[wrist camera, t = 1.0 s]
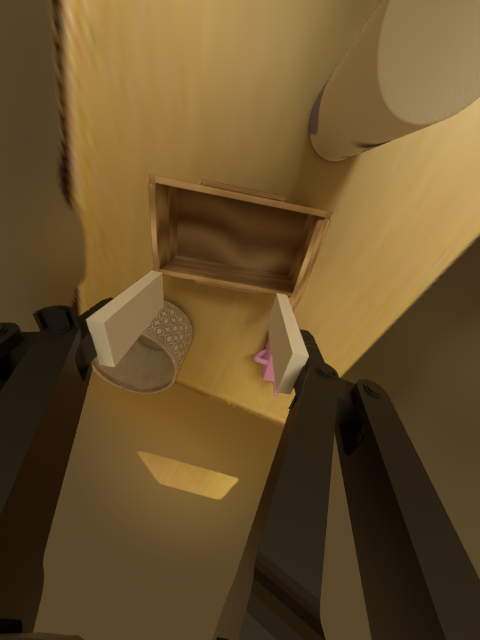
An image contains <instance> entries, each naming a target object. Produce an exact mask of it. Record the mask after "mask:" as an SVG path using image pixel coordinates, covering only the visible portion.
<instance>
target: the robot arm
mask: <svg viewBox="0 0 480 640" xmlns="http://www.w3.org/2000/svg"><path fill="white" fill-rule="evenodd" d="M163 306H164V298H163V274H162V272H157V271H150V272H149V273H148V274H146V275H145V276H144V277H142V278H141V279H140V280H138V281H137V282H136V283H134V284H133V285H132V286H130V287H129V288H128V289H126V290H125V291H124V292H122V293H121V294H120V295H118V296H117V297H116V298H108V299H105V300H102V301H100V302H99V303H98V304H96V305H95V306H93V307H92V308H90V309H89V310H87V311H86V312H85V313H83V314H82V315H80V316H79V317H76V314H75V310H74V309H73V308H72V307H69V306H62V305H58V306H50V307H46V308H43V309H40V310H38V311H36V312H35V313H34V314H33V315H34V318H35V320H36V322H37V324H38V326H39V329H40V332H22V331H21V330H20V328H19V326H18V325H17V324H15V323H9V322H8V323H0V640H84V639H82V638H81V637H80V636H76V635H64V634H52V633H41V632H37V633H33V630H34V626H35V621H36V617H37V613H38V609H39V605H40V601H41V596H42V591H43V583H44V569H43V557H44V552H45V548H46V544H47V540H48V536H49V533H50V529H51V524H52V521H53V517H54V514H55V510H56V506H57V502H58V498H59V495H60V491H61V487H62V483H63V479H64V476H65V472H66V468H67V464H68V461H69V456H70V453H71V449H72V445H73V442H74V438H75V434H76V430H77V426H78V422H79V418H80V415H81V411H82V407H83V403H84V400H85V396H86V392H87V388H88V385H89V380H90V377H91V373H92V370H93V367H92V363H91V362H92V361H93V360H94V359H95V358H96V357H97V358H98V362H99V365H104V366H110V367H115V366H116V365H117V364H118V362H119V361H120V360H121V359H122V357H123V356H124V355H125V354H126V352H127V351H128V350H129V349H130V347H131V346H132V345H133V344H134V342H135V341H136V340H137V339H138V337H139V336H140V335H141V334H142V332H143V331H144V330H145V329H146V327H147V326H148V325H149V324H150V322H151V321H152V320H153V319H154V317H155V316H156V315H157V314H158V312H159V311H160V310H161V309H162V307H163ZM268 331H269V339H270V346H271V354H272V362H273V369H274V377H275V385H276V392H279V393H286V394H291V392H292V390H293V388H294V389H295V393H296V395H295V397H294V399H293V401H292V403H291V405H290V407H289V409H290V411H289V414H288V417H287V420H286V423H285V426H284V429H283V432H282V435H281V438H280V441H279V444H278V448H277V450H276V454H275V457H274V460H273V463H272V466H271V469H270V472H269V475H268V478H267V481H266V484H265V487H264V490H263V493H262V496H261V499H260V503H259V506H258V509H257V512H256V515H255V518H254V521H253V524H252V527H251V530H250V533H249V536H248V539H247V542H246V545H245V549H244V552H243V555H242V558H241V561H240V564H239V567H238V570H237V573H236V576H235V578H234V581H233V584H232V586H231V588H230V591H229V593H228V596H227V598H226V601H225V603H224V606H223V609H222V612H221V615H220V618H219V621H218V624H217V627H216V630H215V633H214V636H213V639H212V640H325V636H324V632H323V629H322V625H321V621H320V596H321V584H322V572H323V560H324V549H325V537H326V525H327V514H328V502H329V489H330V478H331V466H332V454H333V442H334V431H335V436H336V442H337V447H338V453H339V459H340V464H341V469H342V476H343V481H344V487H345V492H346V498H347V504H348V509H349V515H350V520H351V526H352V531H353V536H354V543H355V548H356V554H357V560H358V565H359V571H360V576H361V582H362V587H363V593H364V599H365V604H366V610H367V615H368V621H369V627H370V632H371V638H372V640H480V579H479V577H478V575H477V573H476V571H475V569H474V567H473V565H472V563H471V561H470V559H469V557H468V555H467V553H466V551H465V549H464V547H463V545H462V543H461V541H460V539H459V537H458V535H457V533H456V531H455V529H454V527H453V525H452V523H451V521H450V519H449V517H448V515H447V513H446V510H445V508H444V506H443V505H442V503H441V500H440V498H439V497H438V494H437V492H436V490H435V488H434V486H433V484H432V482H431V480H430V478H429V476H428V474H427V472H426V470H425V468H424V466H423V464H422V462H421V460H420V458H419V456H418V454H417V452H416V450H415V448H414V446H413V444H412V442H411V440H410V438H409V436H408V434H407V432H406V430H405V428H404V426H403V424H402V422H401V420H400V418H399V416H398V414H397V412H396V410H395V408H394V406H393V404H392V402H391V400H390V398H389V396H388V394H387V393H386V391H385V390H384V389H383V388H382V387H381V386H379V385H378V384H376V383H375V382H372V381H370V380H367V379H360V380H358V382H357V383H356V384H353V383H351V382H348V381H346V380H343V379H341V378H339V376H338V373H337V372H336V370H335V369H334V368H332V367H331V366H330V365H328V364H326V363H325V362H324V360H323V357H322V355H321V353H320V351H319V348H318V346H317V344H316V343H315V339H314V337H313V336H312V335H311V334H310V333H309V332H308V331H306V330H300V329H299V327H298V325H297V322H296V319H295V316H294V314H293V311H292V308H291V305H290V303H289V300H288V297H287V295H285V294H279V293H277V294H276V297H275V300H274V304H273V307H272V310H271V314H270V317H269V320H268Z"/></svg>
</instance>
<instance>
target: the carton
mask: <svg viewBox="0 0 480 640" xmlns="http://www.w3.org/2000/svg"><path fill="white" fill-rule="evenodd" d="M149 182H150V184H152V185H153V186H154V196H155V215H156V234H157V254H158V272H162V274H163V275H169V276H175V277H180V278H186V279H191V280H196V283H198V284H203V285H209V286H214V287H220V288H226V289H231V290H237V291H242V292H248V293H253V294H259V295H261V293H262V292H263V293H269V294H274V295H276V294H277V293H279V294H285V295H287V297H291V296H292V294H293V291H294V288H295V285H296V282H297V279H298V276H299V273H300V271H301V268H302V265H303V262H304V259H305V256H306V253H307V250H308V247H309V245H310V242H311V239H312V236H313V233H314V230H315V227H316V224H317V221H318V220H330V218H331V215H332V212H329V211H324V210H319V209H315V208H310V207H305V206H300V205H295V204H290V203H285V202H281V201H285V198H286V197H285V196H281V195H276V194H271V193H266V192H261V191H256V190H252V189H247V188H242V187H237V186H232V185H228V184H223V183H218V182H213V181H208V180H203V179H201V184H202V185H198V184H193V183H188V182H183V181H179V180H174V179H169V178H164V177H159V176H154V175H149ZM203 185H206V186H203ZM208 186H210V187H208ZM213 187H215V188H213ZM217 188H220V189H217ZM222 189H225V190H222ZM227 190H229V191H227ZM232 191H234V192H232ZM237 192H239V193H237ZM242 193H244V194H242ZM247 194H249V195H247ZM251 195H254V196H251ZM256 196H259V197H256ZM261 197H263V198H261ZM266 198H268V199H266ZM271 199H273V200H271ZM276 200H278V201H276Z"/></svg>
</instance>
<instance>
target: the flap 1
mask: <svg viewBox="0 0 480 640" xmlns="http://www.w3.org/2000/svg"><path fill="white" fill-rule="evenodd" d="M148 192H149V207H150V223H151V238H152V253H153V269H154V271H157V272H158V254H157V234H156V215H155V196H154V186H153V185H152V184H150V183H148Z"/></svg>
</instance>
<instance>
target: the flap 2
mask: <svg viewBox="0 0 480 640" xmlns="http://www.w3.org/2000/svg"><path fill="white" fill-rule="evenodd" d="M330 221H331V220H318V221H317V224H316V227H315V230H314V233H313V236H312V239H311V242H310V245H309V247H308V250H307V253H306V256H305V259H304V262H303V265H302V268H301V271H300V273H299V276H298V279H297V282H296V285H295V288H294V291H293V294H292V296H291V299H290V302H289V303H290V305H291V308H292V311H293V310H294V309H295V307H296V305H297V304H298V302H299V300H300V299H301V297H302V295H303V292H304V289H305V287H306V284H307V281H308V279H309V276H310V273H311V271H312V268H313V266H314V263H315V260H316V258H317V255H318V252H319V250H320V247H321V244H322V242H323V239H324V236H325V234H326V231H327V228H328V226H329V223H330Z"/></svg>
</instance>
